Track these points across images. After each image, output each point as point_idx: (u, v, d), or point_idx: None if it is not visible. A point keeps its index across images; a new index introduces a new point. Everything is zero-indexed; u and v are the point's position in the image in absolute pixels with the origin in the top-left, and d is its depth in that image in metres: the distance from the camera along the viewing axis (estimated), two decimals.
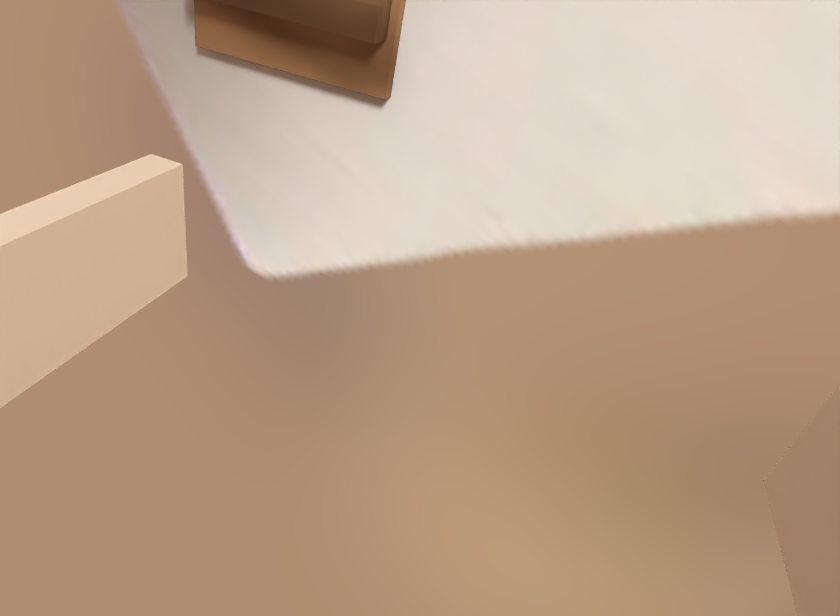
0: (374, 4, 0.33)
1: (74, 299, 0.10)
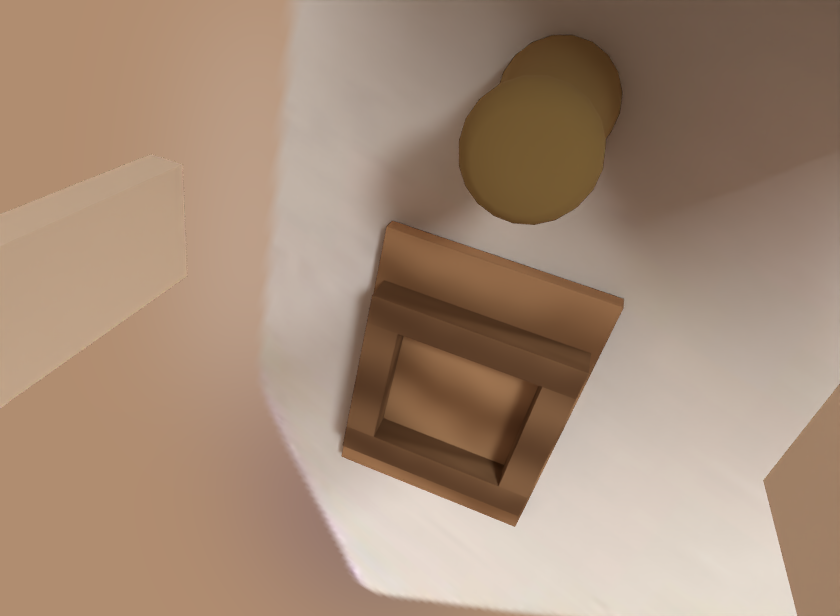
0: (523, 495, 0.38)
1: (74, 299, 0.10)
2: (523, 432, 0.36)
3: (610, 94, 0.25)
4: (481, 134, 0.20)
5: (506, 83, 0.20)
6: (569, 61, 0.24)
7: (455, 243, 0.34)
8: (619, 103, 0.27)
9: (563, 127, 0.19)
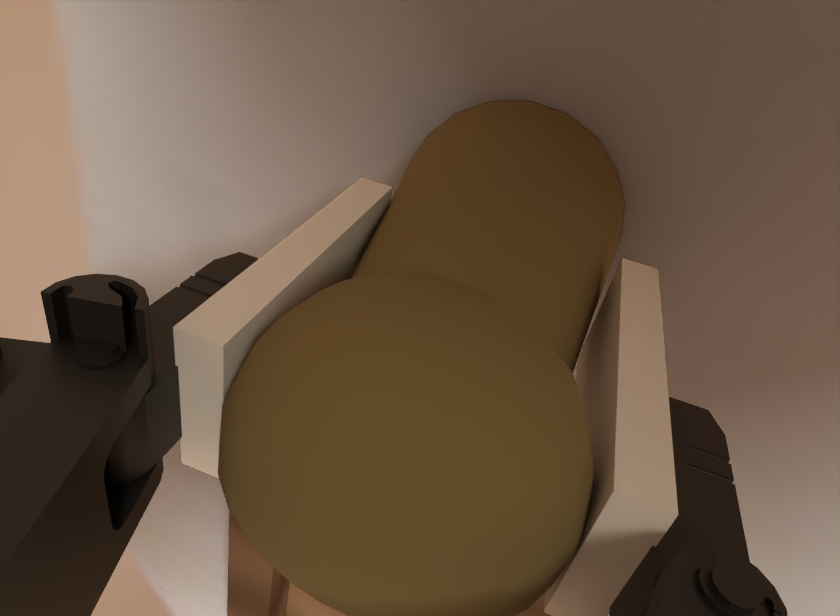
0: None
1: None
2: None
3: (603, 230, 0.12)
4: (244, 463, 0.07)
5: (314, 315, 0.07)
6: (516, 177, 0.11)
7: None
8: (620, 225, 0.15)
9: (462, 486, 0.06)
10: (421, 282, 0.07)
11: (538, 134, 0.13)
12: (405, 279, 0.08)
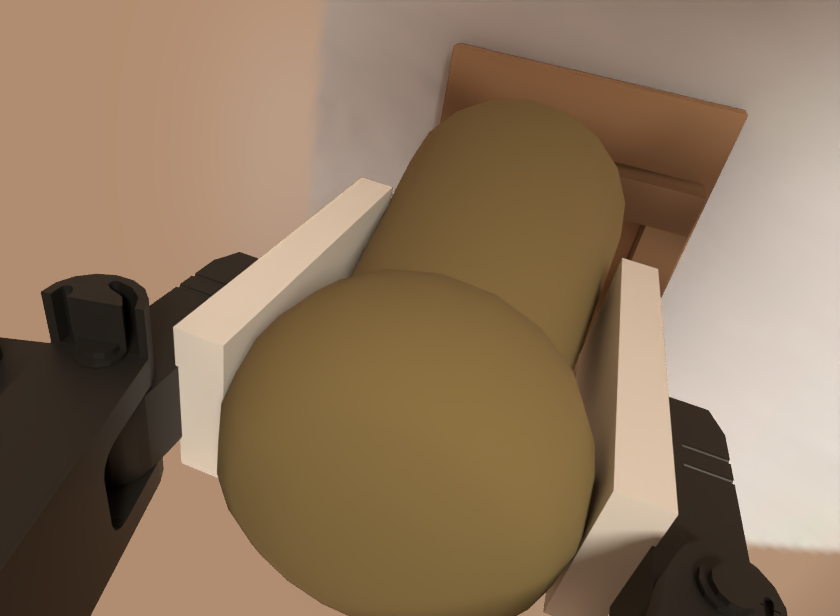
0: None
1: None
2: None
3: (603, 229, 0.12)
4: (242, 461, 0.07)
5: (313, 313, 0.07)
6: (516, 175, 0.11)
7: (535, 61, 0.29)
8: (620, 224, 0.15)
9: (463, 485, 0.06)
10: (421, 280, 0.07)
11: (538, 132, 0.13)
12: (405, 277, 0.07)
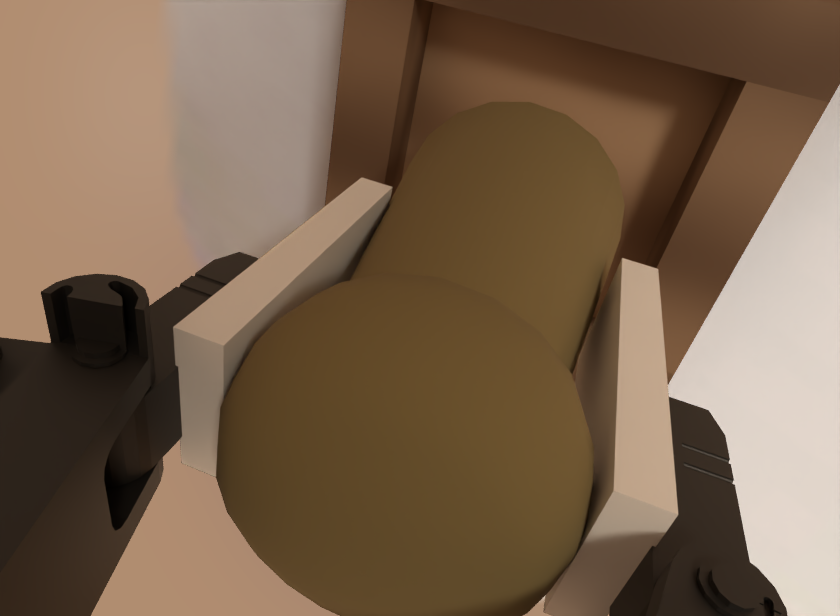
0: None
1: None
2: (683, 216, 0.17)
3: (603, 231, 0.12)
4: (241, 465, 0.07)
5: (312, 317, 0.07)
6: (515, 177, 0.11)
7: None
8: (620, 226, 0.15)
9: (461, 489, 0.06)
10: (420, 284, 0.07)
11: (538, 135, 0.13)
12: (404, 281, 0.07)
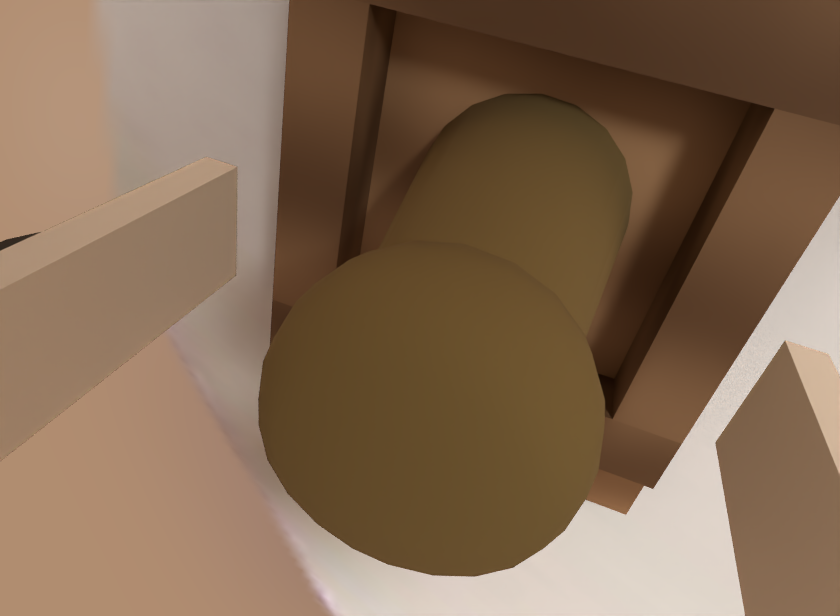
0: (670, 439, 0.17)
1: (142, 297, 0.11)
2: (695, 266, 0.14)
3: (612, 214, 0.13)
4: (286, 410, 0.08)
5: (349, 276, 0.08)
6: (530, 161, 0.12)
7: None
8: (628, 212, 0.15)
9: (486, 424, 0.07)
10: (446, 248, 0.08)
11: (550, 123, 0.14)
12: (431, 246, 0.08)
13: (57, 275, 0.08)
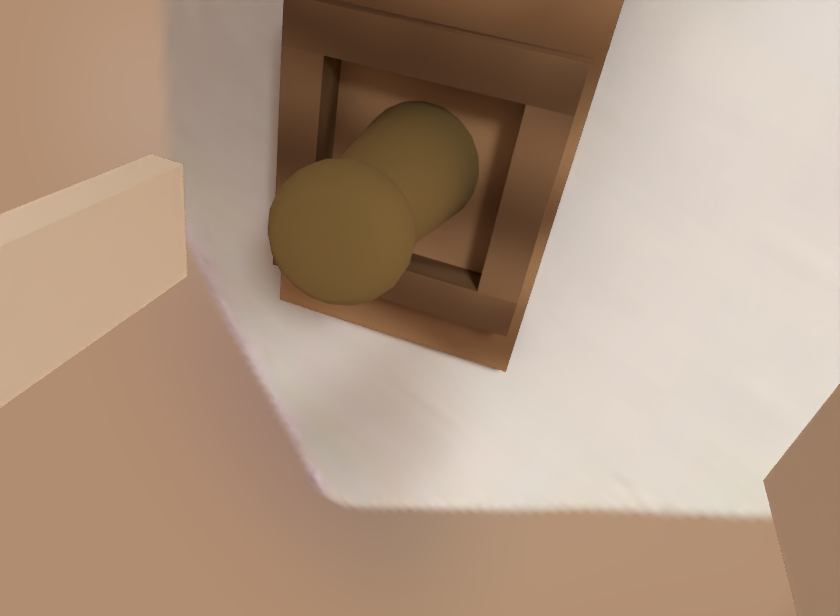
0: (510, 301, 0.28)
1: (74, 299, 0.10)
2: (504, 192, 0.26)
3: (453, 162, 0.25)
4: (279, 221, 0.19)
5: (304, 169, 0.19)
6: (403, 132, 0.24)
7: None
8: (475, 166, 0.27)
9: (352, 215, 0.18)
10: (344, 159, 0.20)
11: (422, 115, 0.25)
12: (339, 159, 0.20)
13: None
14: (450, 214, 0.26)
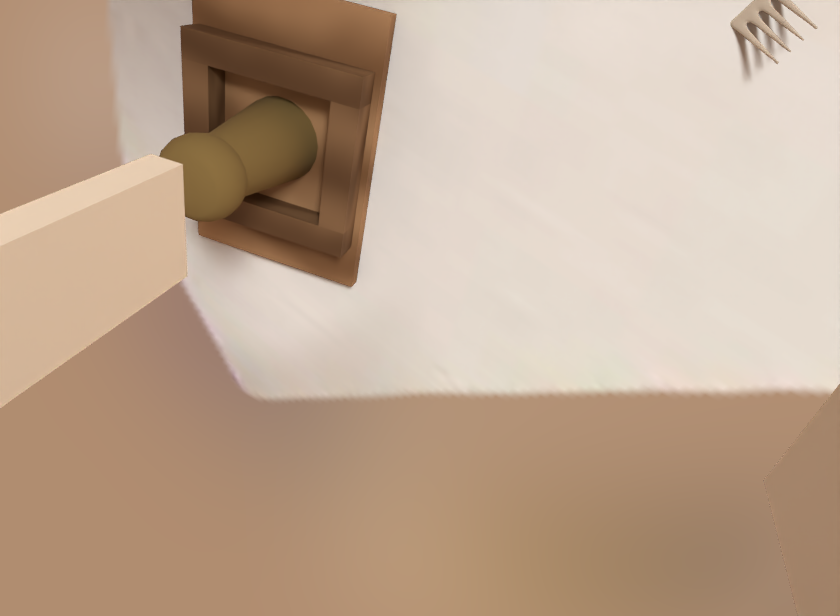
0: (339, 232, 0.42)
1: (74, 299, 0.10)
2: (326, 157, 0.39)
3: (289, 137, 0.39)
4: None
5: (176, 138, 0.33)
6: (253, 117, 0.37)
7: None
8: (313, 141, 0.41)
9: (199, 165, 0.32)
10: (201, 133, 0.34)
11: (272, 106, 0.39)
12: None
13: None
14: (293, 172, 0.40)
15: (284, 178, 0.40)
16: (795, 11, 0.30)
